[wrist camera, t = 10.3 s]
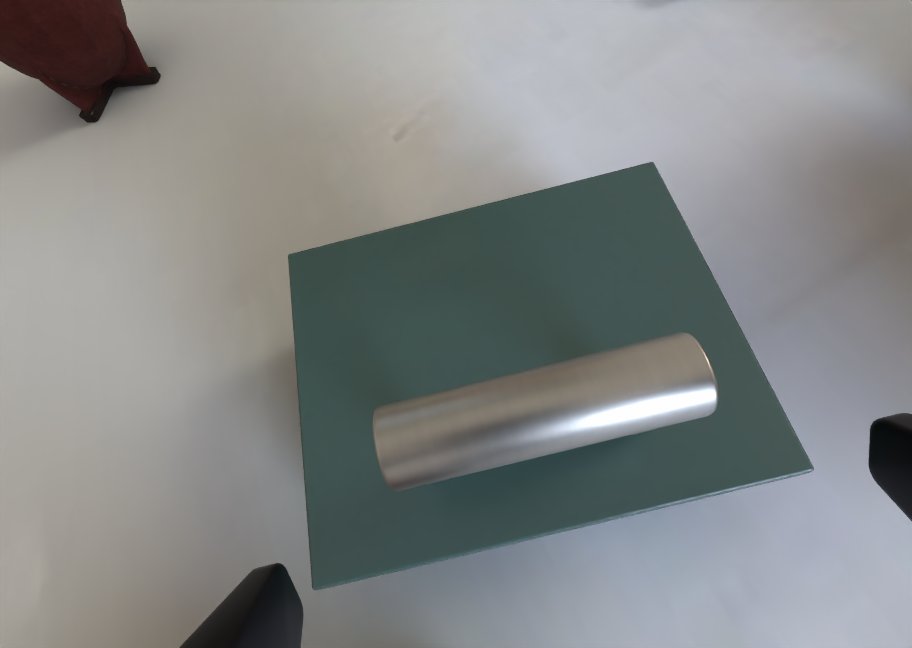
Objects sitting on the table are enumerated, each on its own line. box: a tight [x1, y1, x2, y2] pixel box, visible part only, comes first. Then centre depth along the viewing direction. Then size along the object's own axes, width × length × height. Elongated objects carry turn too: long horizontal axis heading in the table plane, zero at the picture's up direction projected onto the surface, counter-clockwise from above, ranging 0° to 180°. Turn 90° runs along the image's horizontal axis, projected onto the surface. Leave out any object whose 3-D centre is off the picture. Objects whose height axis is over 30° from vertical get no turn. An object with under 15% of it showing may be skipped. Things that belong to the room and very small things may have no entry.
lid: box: [288, 162, 814, 590], centre depth 12 cm, size 9×12×4 cm
